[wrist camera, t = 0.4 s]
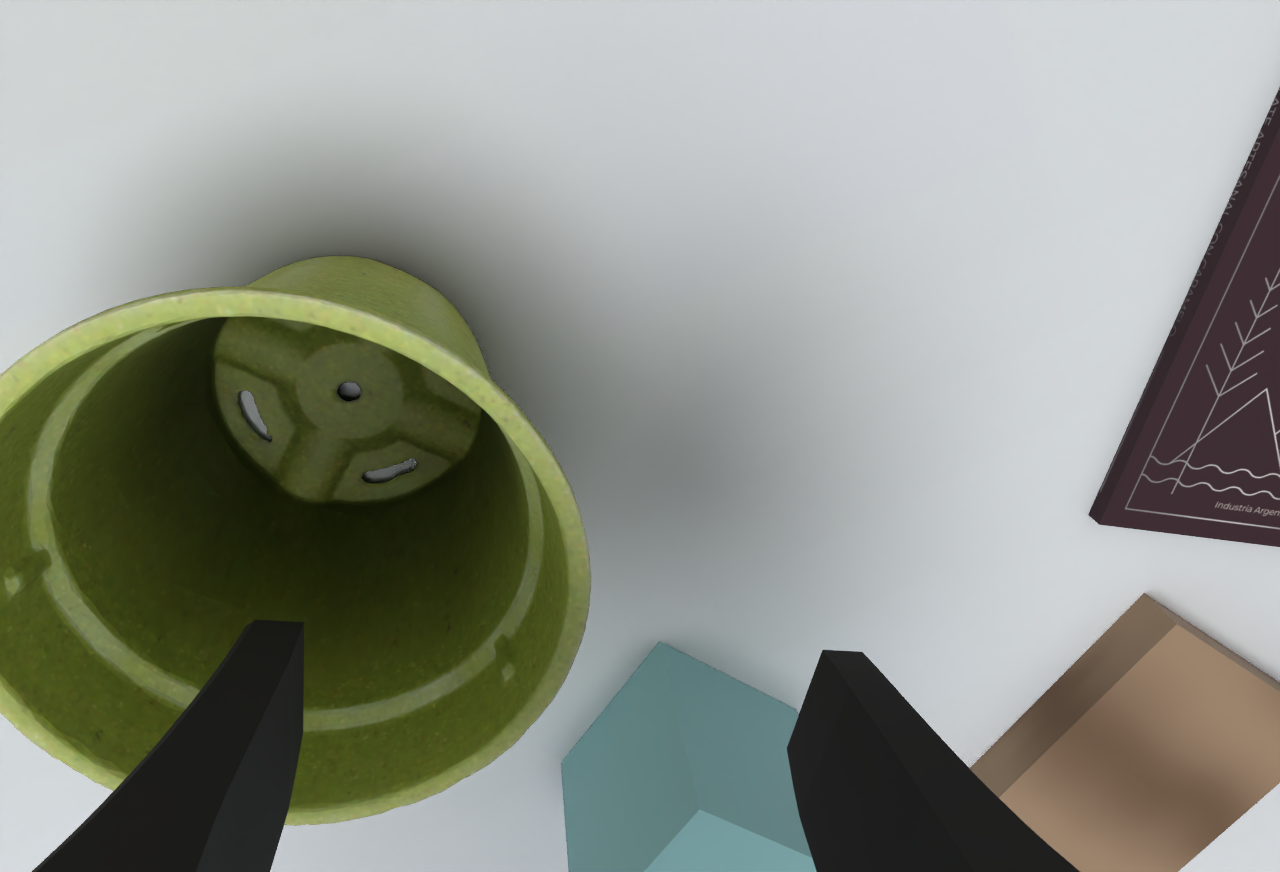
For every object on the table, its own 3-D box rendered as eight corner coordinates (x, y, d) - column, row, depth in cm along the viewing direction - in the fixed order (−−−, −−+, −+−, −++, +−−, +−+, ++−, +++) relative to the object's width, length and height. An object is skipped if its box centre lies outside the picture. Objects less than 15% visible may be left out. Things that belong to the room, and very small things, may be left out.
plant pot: (470, 111, 20) (449, 193, 12) (612, 483, 24) (664, 723, 16) (50, 259, 20) (-238, 433, 12) (263, 602, 24) (149, 896, 16)
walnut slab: (1075, 883, 34) (1107, 933, 32) (914, 805, 31) (938, 856, 29) (1290, 687, 31) (1339, 730, 29) (1134, 583, 28) (1176, 623, 26)
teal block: (696, 819, 29) (739, 1006, 24) (560, 761, 28) (574, 949, 22) (796, 708, 28) (865, 881, 23) (659, 640, 26) (700, 809, 21)
